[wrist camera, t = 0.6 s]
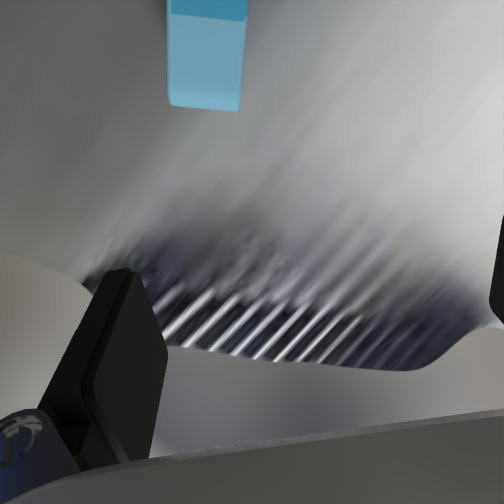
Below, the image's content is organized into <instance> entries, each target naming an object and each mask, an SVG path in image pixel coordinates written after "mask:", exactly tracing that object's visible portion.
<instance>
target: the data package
mask: <svg viewBox="0 0 504 504" xmlns="http://www.w3.org/2000/svg"><path fill="white" fill-rule="evenodd" d="M248 1H249V0H166V44H167V95H168V100H169V103H170V104H171V105H172V106H181V107H191V108H201V109H212V110H222V111H233V112H236V111H238V110H239V107H240V98H241V87H242V75H243V62H244V50H245V38H246V25H247V13H248Z"/></svg>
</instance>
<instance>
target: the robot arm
mask: <svg viewBox="0 0 504 504" xmlns="http://www.w3.org/2000/svg"><path fill="white" fill-rule="evenodd" d="M489 303H490V307H491V309H492V311H493V312H494V314H495V315H496V316H497V317H498V318H499V319H500V321H501V322H502V323H503V324H504V216H503V219H502V224H501V230H500V236H499V242H498V248H497V254H496V260H495V266H494V272H493V278H492V284H491V290H490V296H489ZM167 361H168V351H167V347H166V344H165V341H164V338H163V336H162V333H161V330H160V328H159V325H158V322H157V320H156V317H155V314H154V311H153V309H152V306H151V303H150V301H149V298H148V295H147V293H146V290H145V287H144V285H143V282H142V279H141V277H140V275H139V273H138V272H132V271H131V269H130V268H124V269H118V270H111V271H107V272H106V273H105V274H104V276H103V278H102V280H101V282H100V284H99V286H98V288H97V290H96V292H95V294H94V296H93V298H92V300H91V302H90V305H89V306H88V308H87V310H86V312H85V314H84V316H83V318H82V320H81V322H80V324H79V327H78V328H77V330H76V331H75V333H74V335H73V337H72V339H71V341H70V343H69V345H68V347H67V349H66V351H65V353H64V355H63V357H62V359H61V361H60V363H59V365H58V367H57V369H56V371H55V373H54V375H53V377H52V379H51V381H50V383H49V385H48V387H47V389H46V391H45V393H44V395H43V397H42V399H41V401H40V403H39V405H38V407H37V409H25V410H21V411H18V412H15V413H12V414H10V415H9V416H7V417H5V418H3V419H1V420H0V504H504V409H497V410H490V411H482V412H475V413H467V414H459V415H452V416H444V417H437V418H429V419H422V420H415V421H408V422H400V423H393V424H385V425H378V426H370V427H363V428H355V429H349V430H341V431H333V432H326V433H319V434H312V435H305V436H298V437H291V438H283V439H276V440H269V441H263V442H255V443H248V444H241V445H234V446H227V447H219V448H212V449H205V450H199V451H193V452H187V453H180V454H174V455H167V456H162V457H155V458H149V453H150V448H151V443H152V438H153V433H154V428H155V422H156V417H157V412H158V407H159V402H160V397H161V391H162V387H163V381H164V376H165V371H166V366H167Z"/></svg>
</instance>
